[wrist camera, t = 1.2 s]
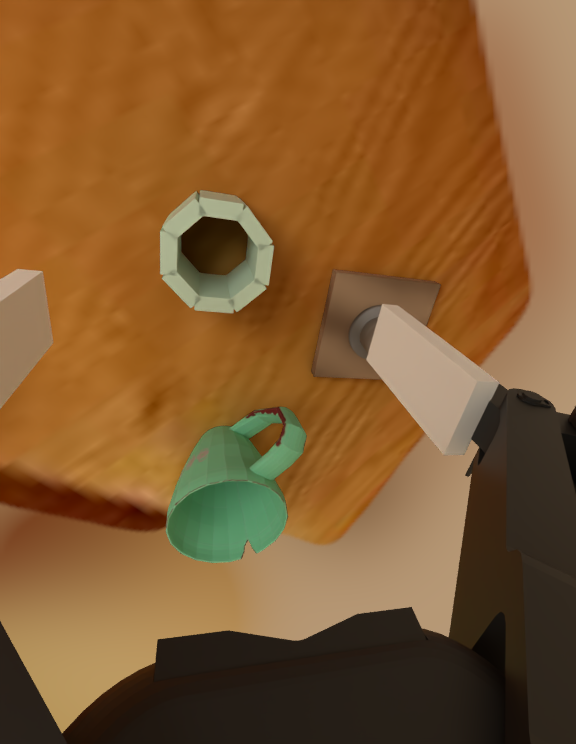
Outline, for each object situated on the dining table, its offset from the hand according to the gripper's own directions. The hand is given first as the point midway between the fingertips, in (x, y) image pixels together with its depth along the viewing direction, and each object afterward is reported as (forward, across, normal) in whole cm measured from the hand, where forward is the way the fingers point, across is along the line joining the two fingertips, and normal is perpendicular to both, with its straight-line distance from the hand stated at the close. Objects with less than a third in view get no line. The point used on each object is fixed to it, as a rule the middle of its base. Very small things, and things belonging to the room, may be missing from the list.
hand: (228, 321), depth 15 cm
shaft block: (+16, +15, -6) cm, 23 cm away
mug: (+17, +3, -18) cm, 25 cm away
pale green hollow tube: (+16, 0, 0) cm, 16 cm away
